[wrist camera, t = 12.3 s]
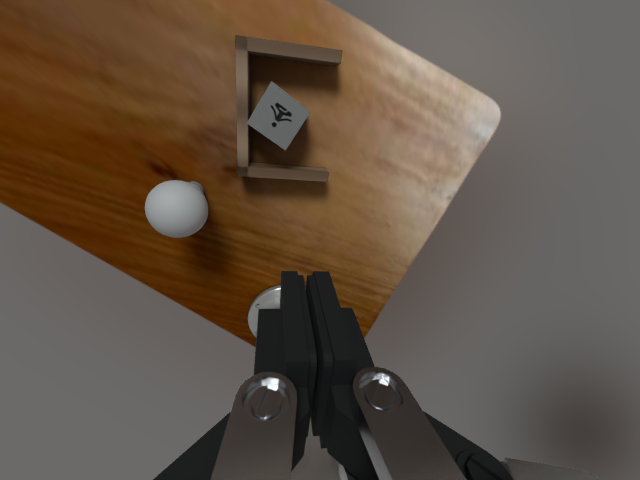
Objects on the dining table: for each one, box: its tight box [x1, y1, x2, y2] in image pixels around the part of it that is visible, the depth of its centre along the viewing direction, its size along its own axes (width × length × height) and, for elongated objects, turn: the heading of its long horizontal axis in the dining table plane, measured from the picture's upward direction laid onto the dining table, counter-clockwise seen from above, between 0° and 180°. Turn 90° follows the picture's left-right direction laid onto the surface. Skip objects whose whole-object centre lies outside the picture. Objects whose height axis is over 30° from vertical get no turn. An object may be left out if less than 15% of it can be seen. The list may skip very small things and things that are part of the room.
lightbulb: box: [145, 180, 208, 238], centre depth 34 cm, size 6×6×11 cm
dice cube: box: [247, 81, 310, 151], centre depth 34 cm, size 5×5×5 cm
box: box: [235, 35, 342, 182], centre depth 35 cm, size 14×11×3 cm
